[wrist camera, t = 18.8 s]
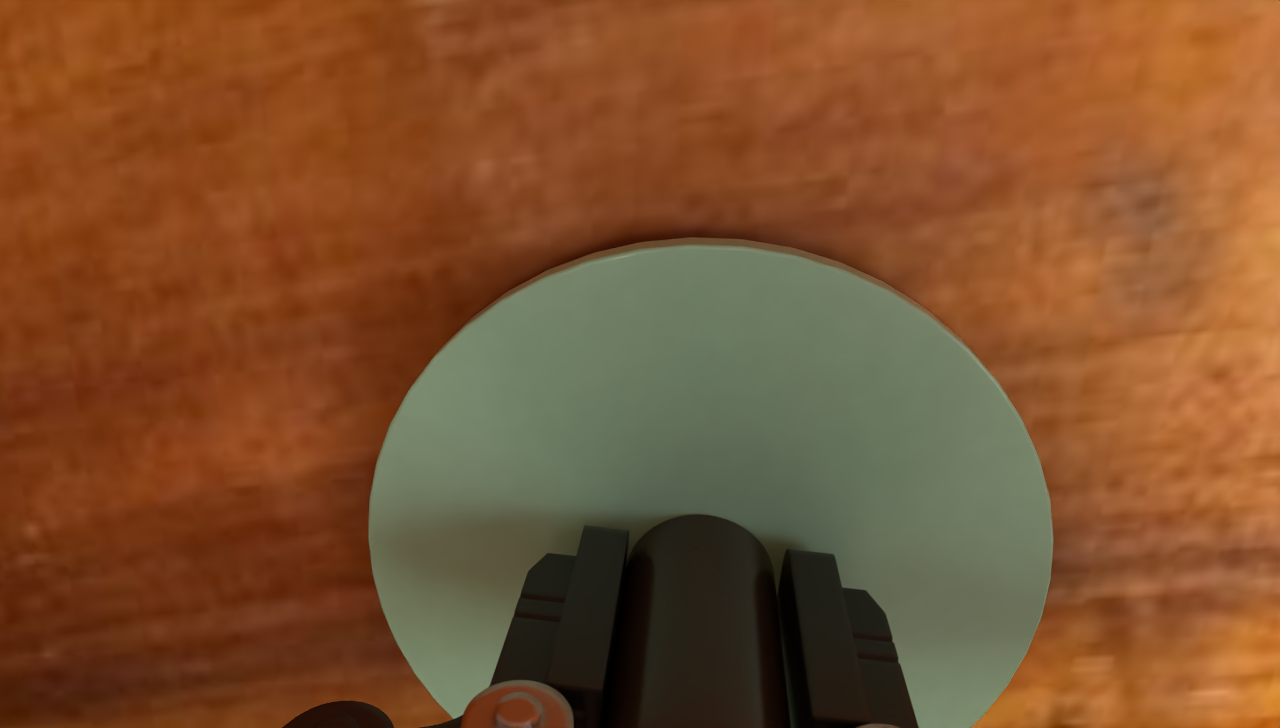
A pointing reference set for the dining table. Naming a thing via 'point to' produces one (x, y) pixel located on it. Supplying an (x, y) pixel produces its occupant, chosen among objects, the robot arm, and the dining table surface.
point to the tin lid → (713, 480)
